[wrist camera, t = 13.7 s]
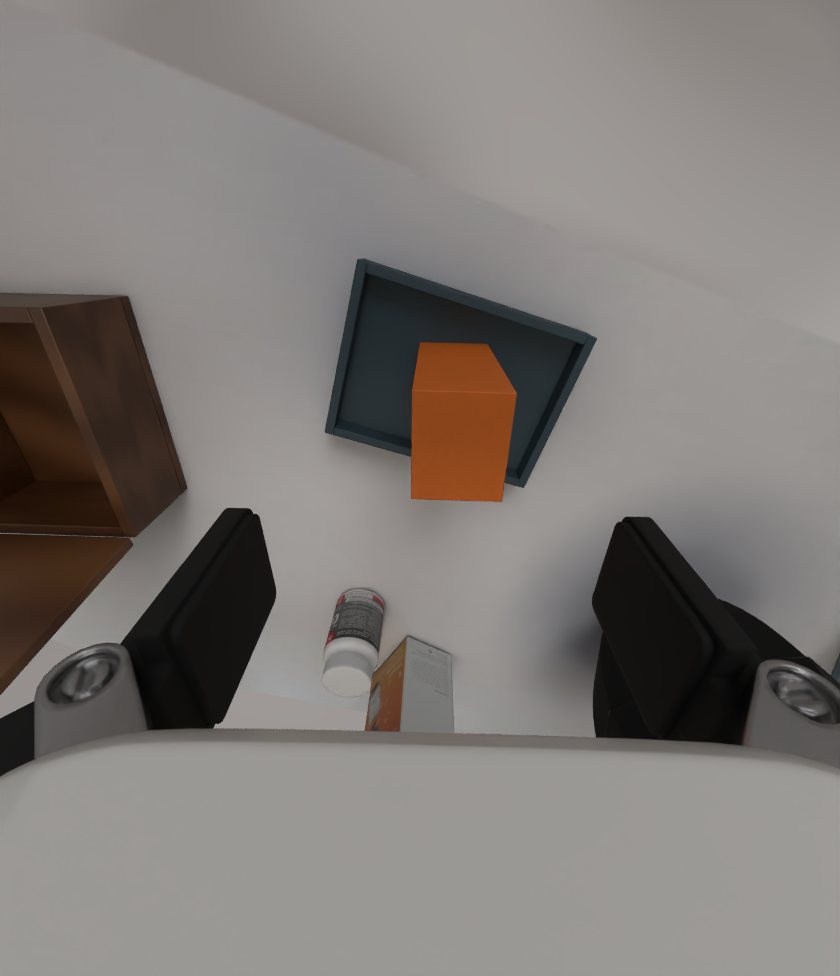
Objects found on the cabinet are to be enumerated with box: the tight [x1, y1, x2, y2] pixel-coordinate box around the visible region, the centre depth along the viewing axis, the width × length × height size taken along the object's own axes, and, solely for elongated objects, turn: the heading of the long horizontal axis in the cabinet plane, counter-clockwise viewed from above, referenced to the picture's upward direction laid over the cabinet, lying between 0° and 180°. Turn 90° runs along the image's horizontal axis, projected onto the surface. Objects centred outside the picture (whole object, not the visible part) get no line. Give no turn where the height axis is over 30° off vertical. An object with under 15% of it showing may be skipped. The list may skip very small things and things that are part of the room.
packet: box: [411, 342, 517, 502], centre depth 24 cm, size 6×4×11 cm
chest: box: [0, 293, 187, 537], centre depth 27 cm, size 15×13×7 cm
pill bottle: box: [322, 589, 385, 697], centre depth 36 cm, size 5×5×8 cm
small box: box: [365, 637, 454, 733], centre depth 40 cm, size 8×6×10 cm
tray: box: [325, 259, 597, 488], centre depth 28 cm, size 15×11×2 cm
